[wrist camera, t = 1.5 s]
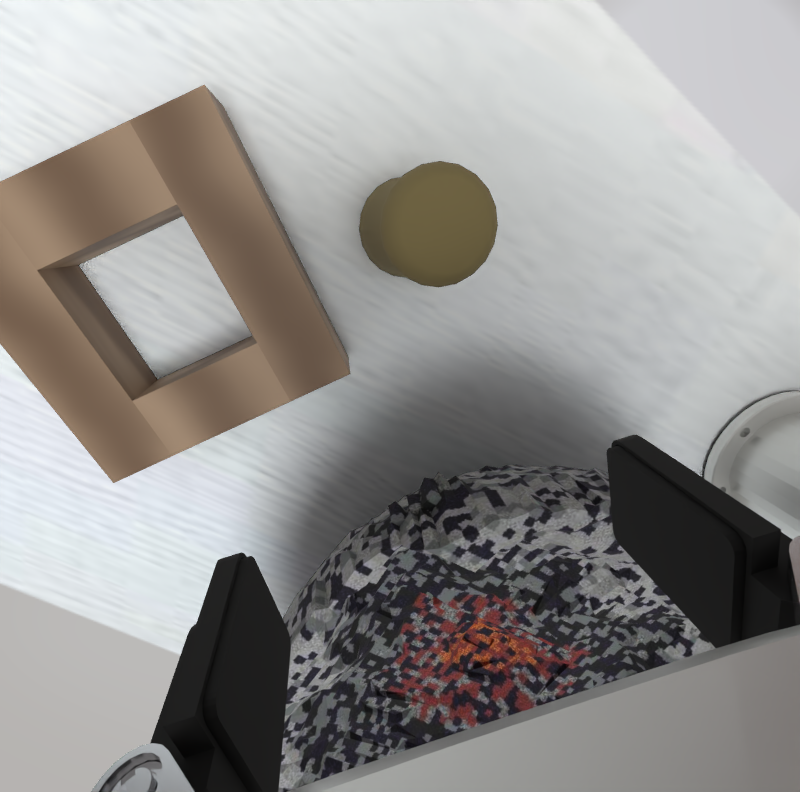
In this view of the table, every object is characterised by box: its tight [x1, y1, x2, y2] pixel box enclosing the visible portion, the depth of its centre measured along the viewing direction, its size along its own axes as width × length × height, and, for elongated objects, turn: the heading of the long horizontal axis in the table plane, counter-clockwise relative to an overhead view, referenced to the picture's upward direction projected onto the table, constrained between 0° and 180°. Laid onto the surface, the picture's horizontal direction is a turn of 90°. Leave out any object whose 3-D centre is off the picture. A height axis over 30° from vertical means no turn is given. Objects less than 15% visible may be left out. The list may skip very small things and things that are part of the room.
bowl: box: [278, 465, 716, 792], centre depth 32 cm, size 31×31×15 cm
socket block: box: [0, 85, 350, 483], centre depth 26 cm, size 16×16×4 cm
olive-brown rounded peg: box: [359, 161, 498, 287], centre depth 24 cm, size 6×6×11 cm
